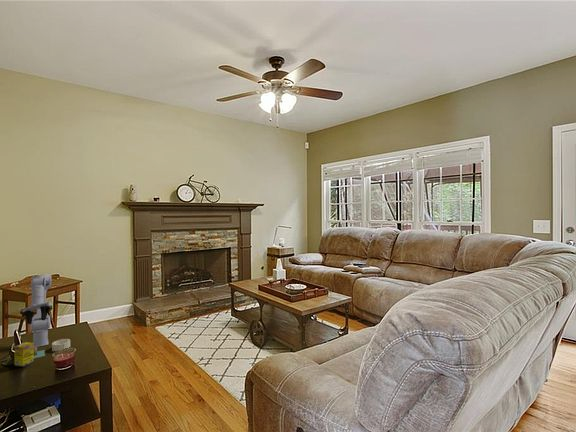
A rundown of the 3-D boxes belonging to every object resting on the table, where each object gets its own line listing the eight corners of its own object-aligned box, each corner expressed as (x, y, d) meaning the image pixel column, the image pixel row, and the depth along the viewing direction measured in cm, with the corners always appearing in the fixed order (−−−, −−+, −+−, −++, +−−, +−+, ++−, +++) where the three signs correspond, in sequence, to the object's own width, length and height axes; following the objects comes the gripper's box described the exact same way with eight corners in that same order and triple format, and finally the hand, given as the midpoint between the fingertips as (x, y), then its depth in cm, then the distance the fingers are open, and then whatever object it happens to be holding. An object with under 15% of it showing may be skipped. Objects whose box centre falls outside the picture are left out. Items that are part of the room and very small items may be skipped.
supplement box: (23, 367, 170) (23, 347, 170) (14, 366, 171) (14, 346, 171) (34, 362, 176) (34, 342, 176) (25, 361, 177) (25, 341, 177)
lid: (23, 355, 186) (23, 347, 186) (44, 351, 192) (44, 343, 192) (22, 361, 178) (22, 353, 178) (44, 357, 184) (44, 348, 184)
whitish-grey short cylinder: (51, 347, 195) (51, 341, 195) (69, 344, 201) (69, 337, 201) (52, 352, 188) (52, 346, 188) (70, 349, 194) (70, 342, 194)
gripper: (19, 300, 180) (17, 325, 175) (45, 293, 181) (44, 317, 176) (29, 302, 186) (27, 326, 181) (54, 295, 187) (53, 318, 182)
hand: (36, 322), depth 179 cm, fingers open, 7 cm apart
